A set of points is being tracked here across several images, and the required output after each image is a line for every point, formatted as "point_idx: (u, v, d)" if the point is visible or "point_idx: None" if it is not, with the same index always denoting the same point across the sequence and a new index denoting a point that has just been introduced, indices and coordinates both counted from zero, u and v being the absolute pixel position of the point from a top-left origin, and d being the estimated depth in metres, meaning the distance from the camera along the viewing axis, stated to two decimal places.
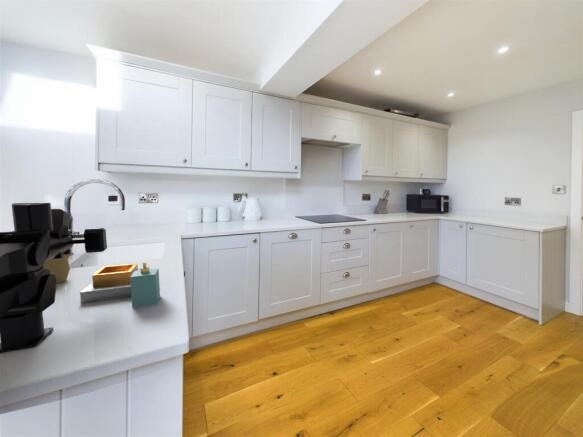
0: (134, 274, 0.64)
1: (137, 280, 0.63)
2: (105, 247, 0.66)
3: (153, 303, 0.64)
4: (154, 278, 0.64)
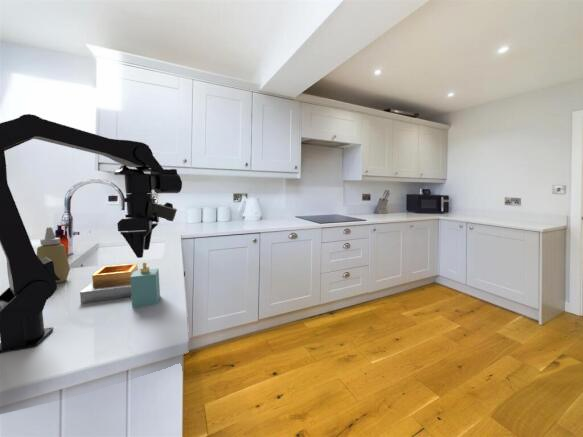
0: (134, 274, 0.64)
1: (137, 280, 0.63)
2: (122, 226, 0.55)
3: (153, 303, 0.64)
4: (154, 278, 0.64)
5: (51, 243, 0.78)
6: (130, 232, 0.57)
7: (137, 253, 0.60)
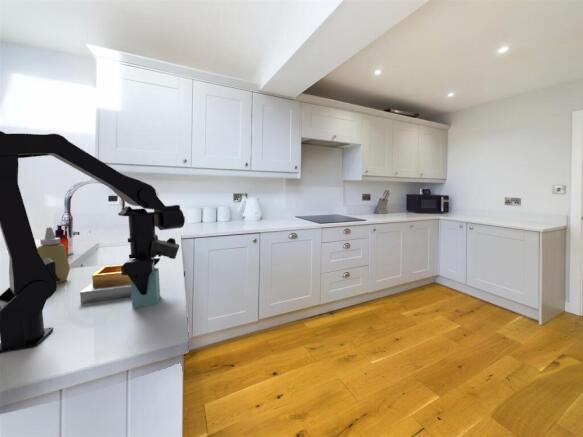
0: None
1: None
2: (125, 269, 0.56)
3: (153, 303, 0.64)
4: (154, 278, 0.64)
5: (51, 243, 0.78)
6: None
7: (141, 291, 0.63)
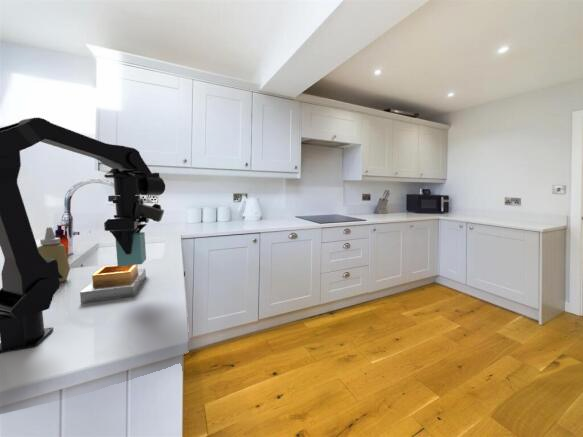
0: None
1: None
2: (108, 225, 0.59)
3: (138, 263, 0.67)
4: (138, 239, 0.67)
5: (51, 243, 0.78)
6: (118, 230, 0.62)
7: (126, 250, 0.66)
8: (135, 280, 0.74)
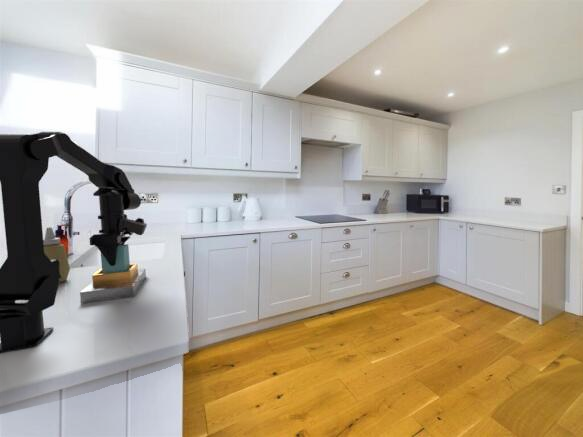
0: None
1: None
2: (93, 240, 0.65)
3: None
4: (122, 251, 0.73)
5: (51, 243, 0.78)
6: (103, 244, 0.68)
7: (110, 262, 0.72)
8: (135, 280, 0.74)
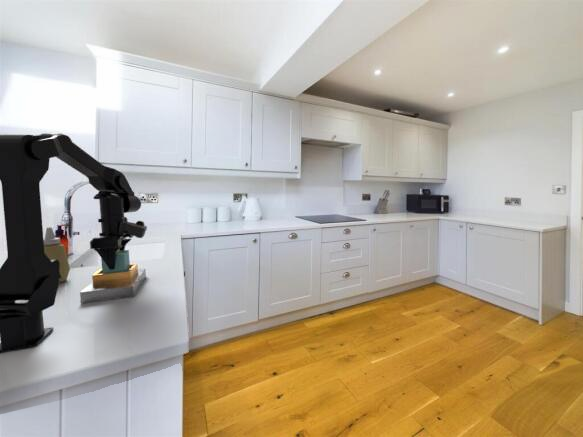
0: None
1: None
2: (93, 244, 0.65)
3: None
4: (123, 257, 0.73)
5: (51, 243, 0.78)
6: (102, 248, 0.67)
7: (109, 266, 0.71)
8: (135, 280, 0.74)
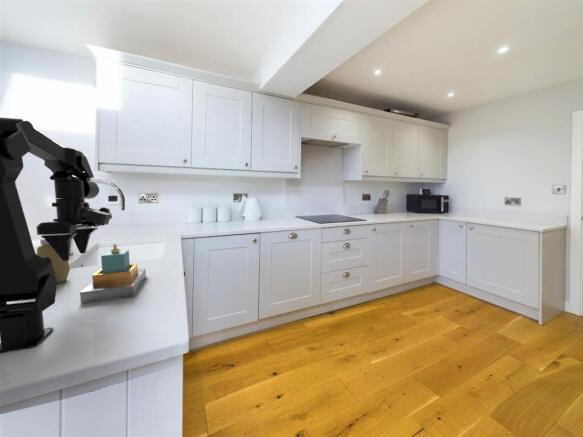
0: (105, 254, 0.73)
1: (107, 258, 0.72)
2: (40, 229, 0.57)
3: None
4: (123, 257, 0.73)
5: None
6: (51, 235, 0.58)
7: (62, 257, 0.62)
8: (135, 280, 0.74)
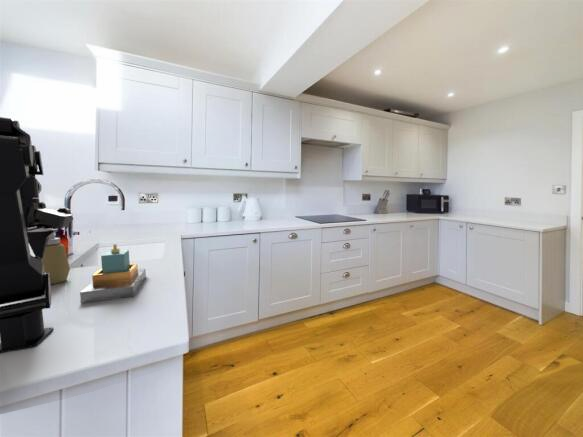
0: (105, 254, 0.73)
1: (107, 258, 0.72)
2: None
3: None
4: (123, 257, 0.73)
5: (51, 243, 0.78)
6: None
7: None
8: (135, 280, 0.74)
